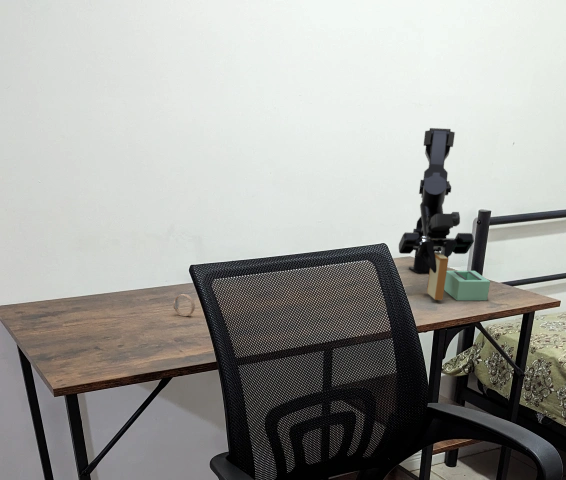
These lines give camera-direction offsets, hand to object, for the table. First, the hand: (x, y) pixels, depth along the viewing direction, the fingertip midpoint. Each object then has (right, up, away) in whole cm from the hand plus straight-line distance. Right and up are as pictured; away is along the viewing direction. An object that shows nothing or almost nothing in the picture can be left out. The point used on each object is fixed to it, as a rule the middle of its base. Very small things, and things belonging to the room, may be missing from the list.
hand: (439, 272), depth 186 cm
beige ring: (-64, -16, -15) cm, 68 cm away
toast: (0, -5, +5) cm, 7 cm away
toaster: (+9, -3, +10) cm, 14 cm away
